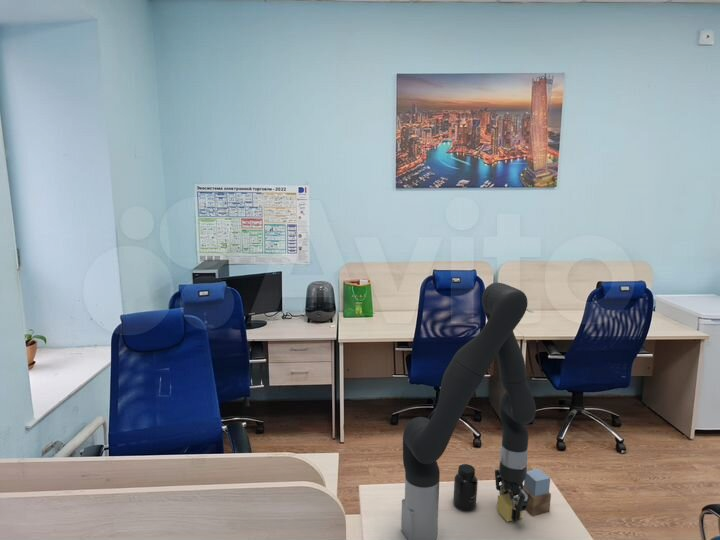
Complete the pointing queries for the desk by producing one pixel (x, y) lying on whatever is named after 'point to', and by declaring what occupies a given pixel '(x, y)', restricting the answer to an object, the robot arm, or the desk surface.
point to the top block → (506, 507)
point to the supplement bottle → (465, 488)
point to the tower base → (538, 503)
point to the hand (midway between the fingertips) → (509, 512)
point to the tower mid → (537, 482)
